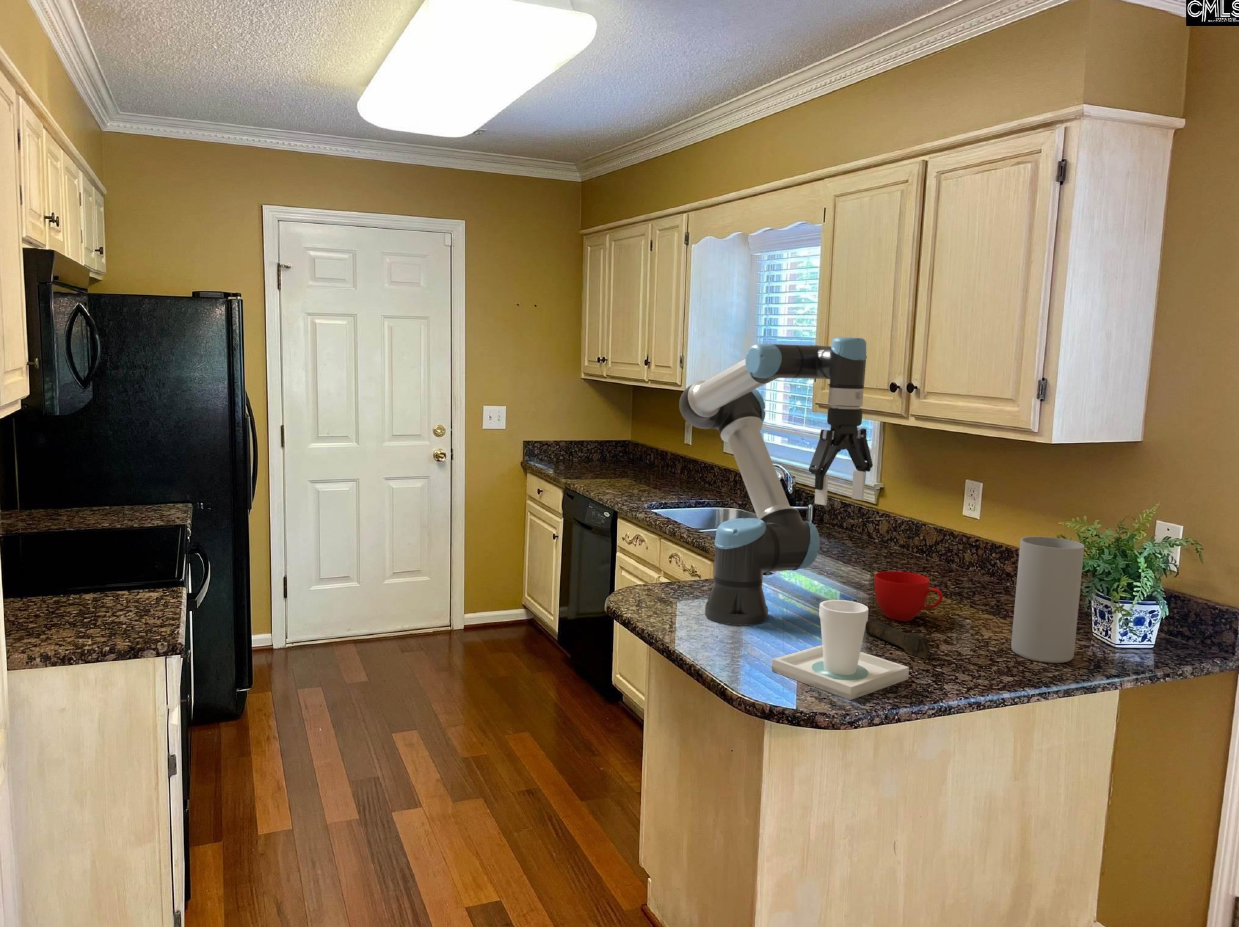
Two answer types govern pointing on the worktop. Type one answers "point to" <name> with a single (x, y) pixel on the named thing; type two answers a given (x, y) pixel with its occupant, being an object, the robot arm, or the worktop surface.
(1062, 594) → the cylinder vase
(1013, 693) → the worktop surface
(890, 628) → the hand tool
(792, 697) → the worktop surface
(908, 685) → the worktop surface
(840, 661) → the foam cup
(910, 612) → the ceramic cup
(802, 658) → the square white tray
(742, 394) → the robot arm
